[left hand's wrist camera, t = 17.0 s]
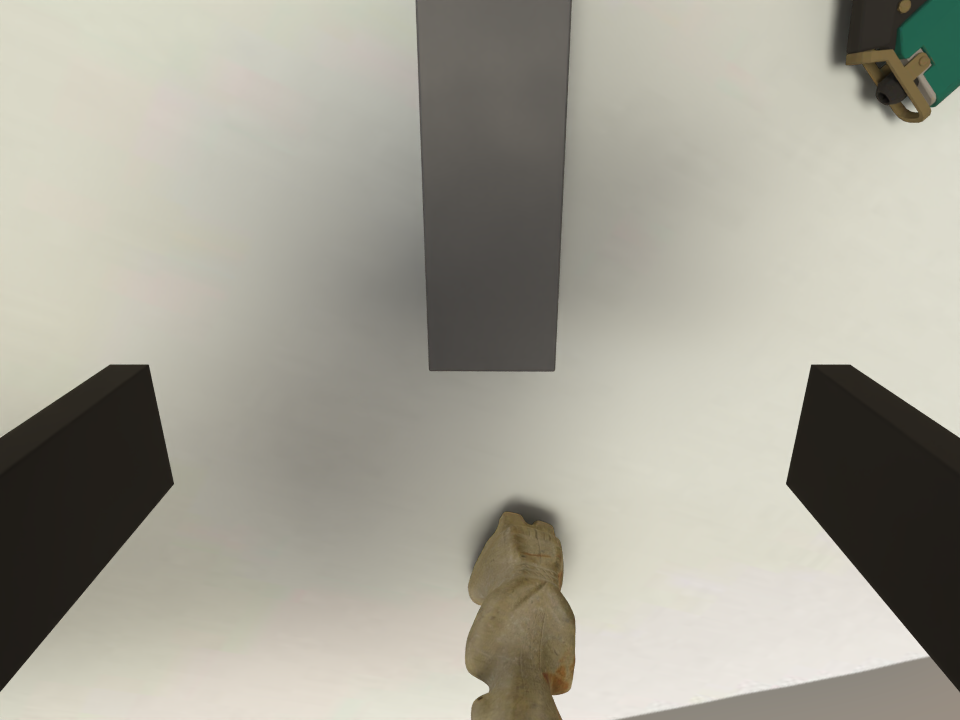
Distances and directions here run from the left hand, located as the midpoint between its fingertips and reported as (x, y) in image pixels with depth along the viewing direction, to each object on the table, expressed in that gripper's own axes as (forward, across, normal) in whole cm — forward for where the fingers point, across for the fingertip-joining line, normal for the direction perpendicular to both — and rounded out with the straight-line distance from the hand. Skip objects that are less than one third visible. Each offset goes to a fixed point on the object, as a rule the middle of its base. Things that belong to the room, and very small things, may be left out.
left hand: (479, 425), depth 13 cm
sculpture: (+22, -2, +20) cm, 30 cm away
